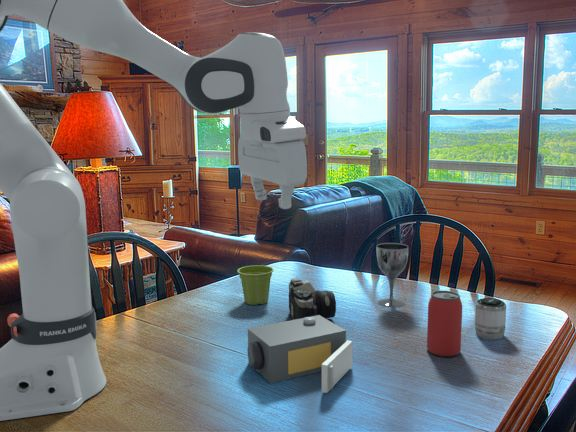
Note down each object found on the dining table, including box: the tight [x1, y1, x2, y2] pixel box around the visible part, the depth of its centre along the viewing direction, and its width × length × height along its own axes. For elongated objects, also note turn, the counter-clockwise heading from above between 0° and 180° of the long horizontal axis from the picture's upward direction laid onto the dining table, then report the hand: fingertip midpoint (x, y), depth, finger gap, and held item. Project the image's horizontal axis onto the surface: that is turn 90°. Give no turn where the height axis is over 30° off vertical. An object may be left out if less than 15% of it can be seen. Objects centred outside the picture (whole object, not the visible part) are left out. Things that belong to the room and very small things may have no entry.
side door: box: [321, 339, 354, 394], centre depth 102 cm, size 12×2×5 cm, turn 152°
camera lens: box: [474, 297, 507, 341], centre depth 123 cm, size 6×6×8 cm
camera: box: [288, 277, 337, 320], centre depth 132 cm, size 16×10×10 cm, turn 10°
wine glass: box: [375, 242, 409, 308], centre depth 144 cm, size 8×8×15 cm
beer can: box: [426, 290, 463, 358], centre depth 114 cm, size 7×7×12 cm
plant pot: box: [236, 264, 274, 306], centre depth 147 cm, size 9×9×9 cm
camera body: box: [247, 315, 347, 384], centre depth 108 cm, size 17×10×8 cm, turn 117°
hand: (272, 203), depth 104 cm, fingers open, 8 cm apart
